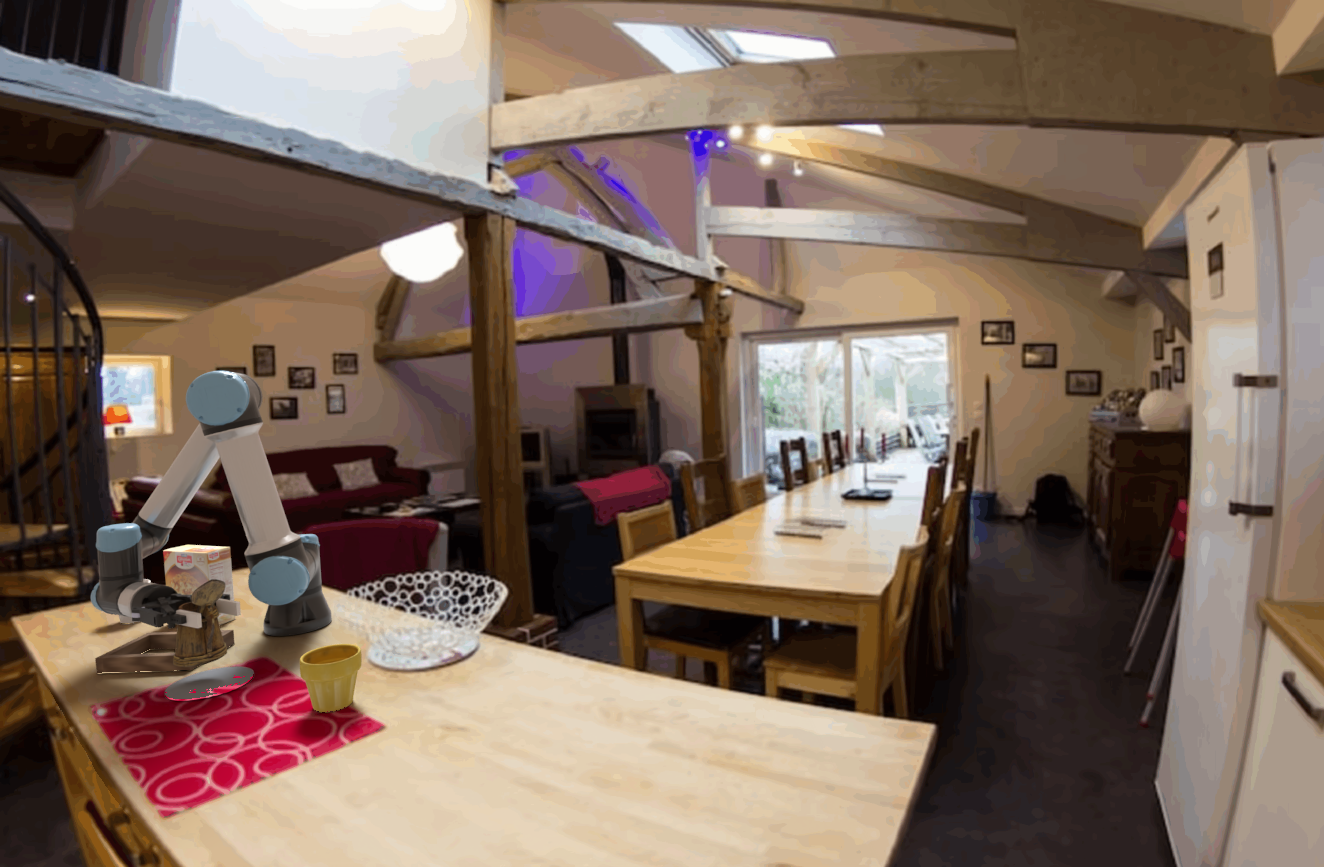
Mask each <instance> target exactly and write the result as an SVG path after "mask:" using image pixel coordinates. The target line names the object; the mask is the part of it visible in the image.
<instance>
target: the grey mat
mask: <svg viewBox="0 0 1324 867" xmlns="http://www.w3.org/2000/svg"><path fill="white" fill-rule="evenodd" d="M253 674H254V675H255V672H254V670H253V669H252V668H250V667H246V666H236V665H235V666H224V667H218V668H212V669H207V670H204V671H199V672H196V673H193V674H190V675H187V676H184V677H183V678H180V679H178V680H176V681H175V682H173V683H171V684H169V686H167V687H166V688H165V689H164V696H165V695H166V696H167V697H169V698H173V699H192V698H200V697H206V696H209V695H213V694H217V693H210V692H209V693H207V691H210V690H209V689H210V688H211V689H212V690H211V691H213V689H214V688H218V687H219V686H220V687H223V686H225V685H226V687H227V686H228V685H230V684H232V685H231V686H233V685H234V684H235V683H238V684H237V685H241V684H243V683H245V682H247V681H248V680H250V679H251V678H250V677H252V676H253ZM234 675H235V676H240V677H242V678H233V677H235V676H234ZM243 676H245V677H243ZM239 682H240V683H239ZM194 689H196V690H194ZM206 689H208V690H207V691H206ZM190 690H191V691H190ZM193 690H194V691H196V693H189V692H193ZM216 690H217V689H216ZM165 692H167V693H165ZM201 692H205V693H201Z"/></svg>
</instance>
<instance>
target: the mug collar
mask: <svg viewBox="0 0 1324 867" xmlns="http://www.w3.org/2000/svg"><path fill="white" fill-rule="evenodd" d="M220 630H221V634H222V637H223V641H224V642H225V643H226V647H227V648H228V649H229V648H230V647H229V646H231V645H233V644H234V645H235V644H236V643H235V634H234V629H220ZM176 636H177V631H166V632H165V631H164V632H162V631H161V632H160V631H159V632H146V633H144V634H142V635H141V636H139V637H136V638H134V639H132V640H130V641H128V642H126V643H123V644H121V645H120V646H118V647H116V648H113V649H112V650H110V651H107V652H105V653H103V654H101V655H99V656H97V657H95V658H94V659H95V670H96V674H97V673H102V672H135V671H137V672H140V671H173V672H175V671H174V670H177V671H176V672H179V671H178V670H192V669H193V668H195V667H197V666H194V667H179V666H175V665H174V664H173V658H174V655H175V652H164V653H163V652H160V653H159V652H157V653H146V652H145V651H147V650H149V649H155V650H175V649H176ZM234 645H233V646H234ZM231 647H232V646H231ZM149 651H150V650H149ZM143 652H145V653H143ZM147 652H148V651H147ZM141 653H143V654H141ZM197 668H198V667H197ZM195 669H196V668H195ZM193 670H194V669H193ZM193 670H192V671H193Z"/></svg>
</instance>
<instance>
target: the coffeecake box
mask: <svg viewBox="0 0 1324 867" xmlns="http://www.w3.org/2000/svg"><path fill="white" fill-rule="evenodd" d="M162 551H163V552H162V554H163V563H164V564H163V566H164V577H165V586H169V587H172V588H173V589H174V590H175V591H176V592H177V593H178V594H182V595H192V594H193V592H194V591H195V590H196V589H197V588H198V587H200V586H201V585H203V584H204V583H206V582H208V581H209V580H211V579H217V580H221V581H223V582H225V590H224V593H223V594H229V595H230V600H232V601H235V595H234V583H233V582H234V581H233V580H234V579H233V570H232V569H233V568H232V567H233V566H232V558H231V557H232V555H231V546H219V545H218V546H216V545H201V544H199V545H198V544H197V545H196V544H185V545H180V546H175V547H170V548H167V549H164V550H162ZM236 617H237V616H234V615H229V614H223V613H219V616H218V622H219V626H221V625H224V624H226V623H230V622H231V621H234V620H236V619H237V618H236ZM176 626H177V624H176Z"/></svg>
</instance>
